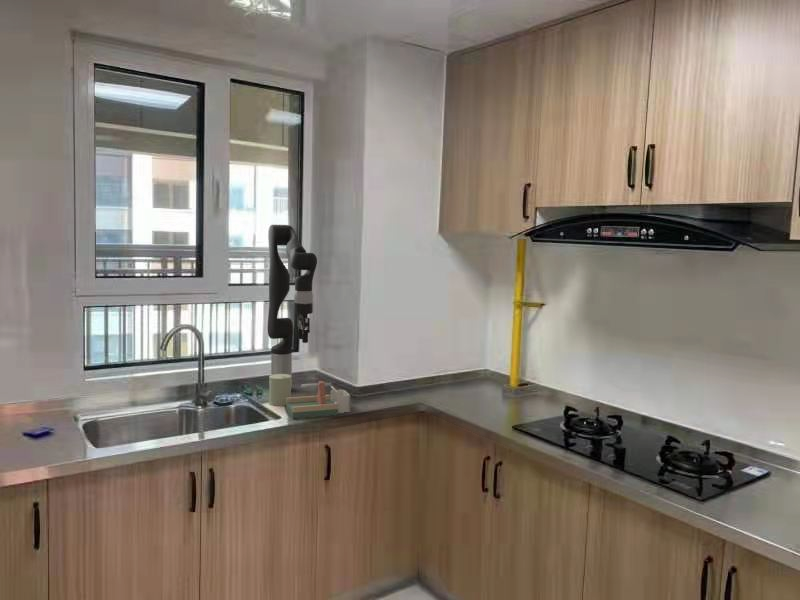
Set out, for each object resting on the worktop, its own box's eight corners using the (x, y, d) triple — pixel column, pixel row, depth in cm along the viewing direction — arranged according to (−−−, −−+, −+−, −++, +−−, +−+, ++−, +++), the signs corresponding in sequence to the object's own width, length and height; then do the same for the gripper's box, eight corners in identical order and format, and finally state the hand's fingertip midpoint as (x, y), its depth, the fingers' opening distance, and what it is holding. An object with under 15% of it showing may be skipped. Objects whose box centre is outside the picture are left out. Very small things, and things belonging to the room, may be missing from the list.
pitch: (286, 408, 251) (286, 397, 250) (329, 405, 257) (329, 394, 256) (292, 418, 237) (292, 407, 236) (338, 415, 243) (338, 404, 242)
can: (279, 407, 253) (279, 378, 252) (264, 403, 258) (264, 375, 257) (295, 402, 260) (295, 374, 259) (281, 399, 266) (281, 371, 264)
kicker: (300, 403, 248) (300, 381, 247) (329, 401, 252) (329, 379, 251) (303, 407, 242) (303, 385, 241) (333, 405, 246) (333, 383, 245)
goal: (330, 406, 254) (330, 386, 254) (343, 405, 256) (343, 385, 256) (336, 413, 245) (336, 391, 244) (350, 412, 247) (350, 390, 246)
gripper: (291, 299, 255) (290, 338, 257) (297, 303, 242) (297, 344, 244) (309, 299, 258) (308, 337, 260) (316, 303, 245) (315, 343, 246)
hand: (303, 340), depth 252 cm, fingers open, 8 cm apart
